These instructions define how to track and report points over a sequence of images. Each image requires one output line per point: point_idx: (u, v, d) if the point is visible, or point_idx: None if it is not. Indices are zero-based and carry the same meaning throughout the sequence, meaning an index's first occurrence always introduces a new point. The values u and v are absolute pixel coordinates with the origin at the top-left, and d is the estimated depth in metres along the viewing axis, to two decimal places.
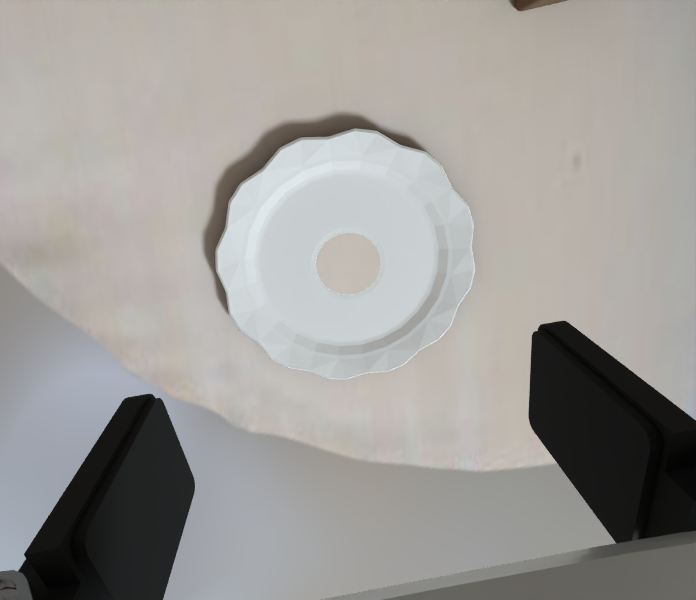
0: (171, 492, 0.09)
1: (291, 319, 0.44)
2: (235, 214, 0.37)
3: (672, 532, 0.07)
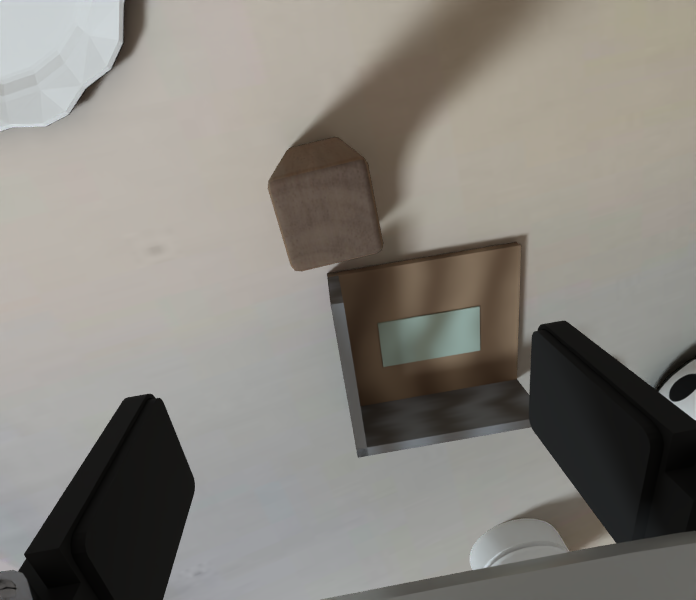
0: (171, 492, 0.09)
1: None
2: None
3: (672, 532, 0.07)
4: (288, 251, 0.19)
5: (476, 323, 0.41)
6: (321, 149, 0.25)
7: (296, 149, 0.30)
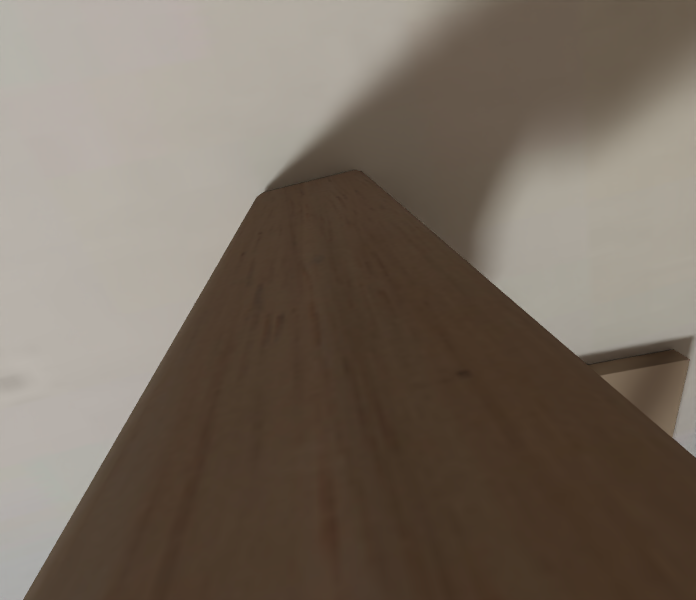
0: None
1: None
2: None
3: None
4: None
5: None
6: (340, 238, 0.08)
7: (272, 207, 0.13)
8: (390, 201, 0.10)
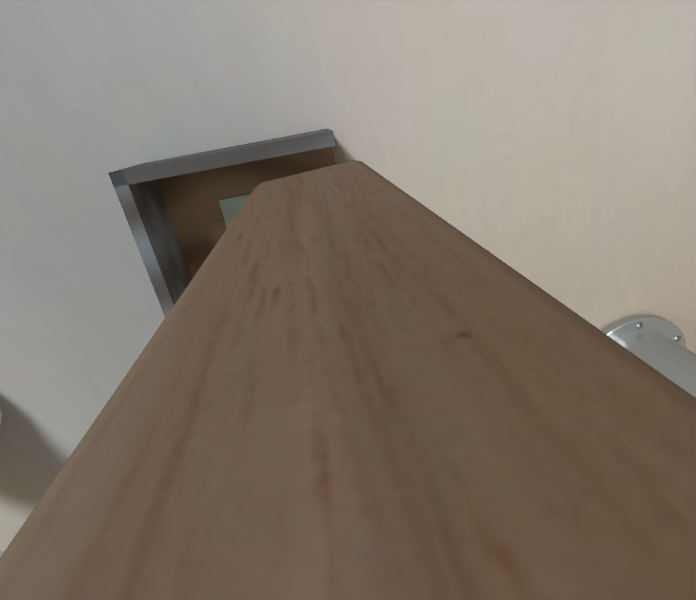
0: None
1: None
2: None
3: None
4: None
5: None
6: (339, 219, 0.08)
7: (270, 195, 0.13)
8: (389, 186, 0.10)
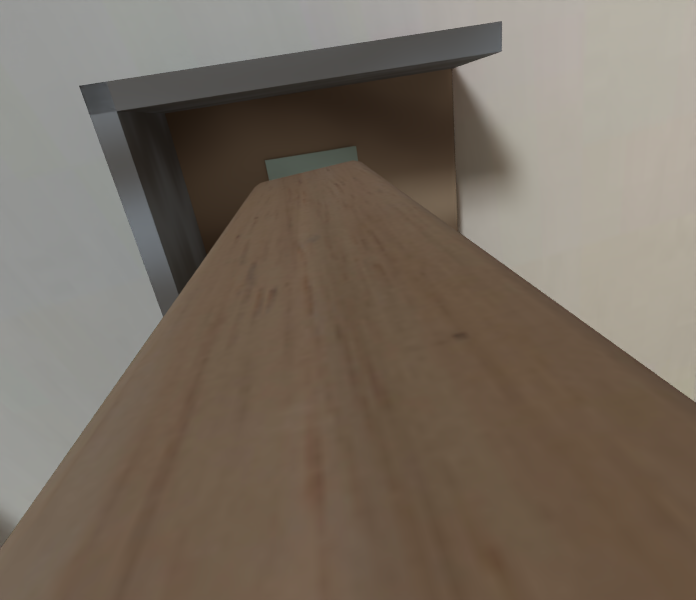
0: None
1: None
2: None
3: None
4: None
5: None
6: (337, 219, 0.08)
7: (269, 195, 0.13)
8: (388, 186, 0.10)
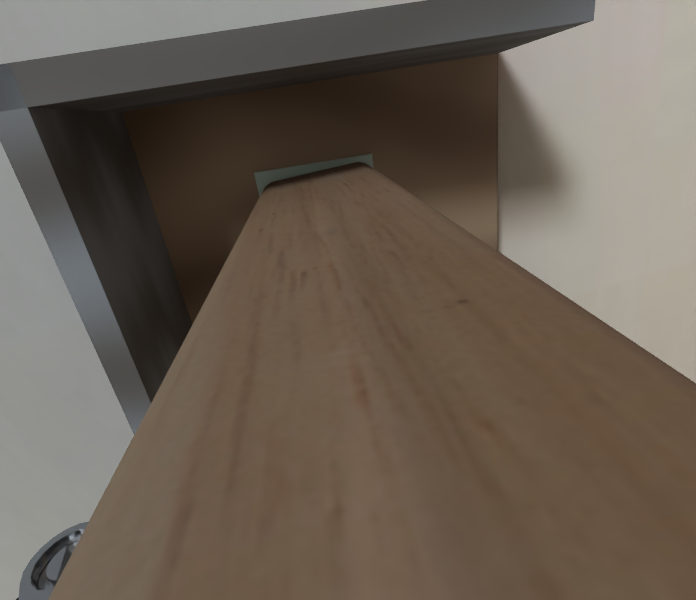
0: None
1: None
2: None
3: None
4: None
5: None
6: (351, 215, 0.09)
7: (282, 193, 0.14)
8: (394, 186, 0.11)
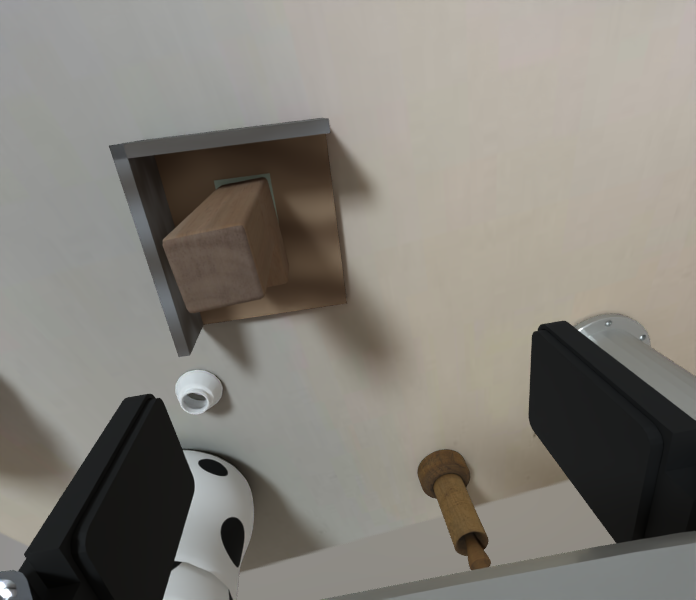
0: (171, 492, 0.09)
1: None
2: None
3: (672, 532, 0.07)
4: (182, 296, 0.23)
5: None
6: (233, 198, 0.29)
7: (221, 190, 0.34)
8: (256, 189, 0.31)
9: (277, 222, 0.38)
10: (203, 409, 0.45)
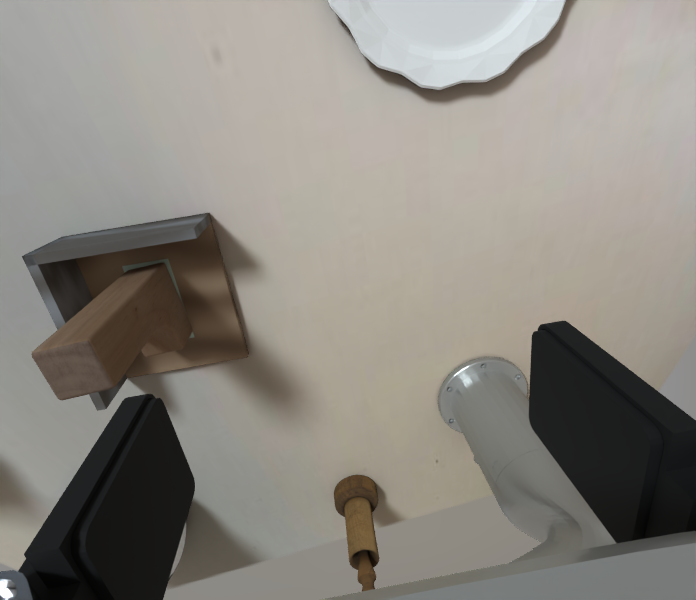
0: (171, 492, 0.09)
1: None
2: (556, 6, 0.40)
3: (672, 532, 0.07)
4: (52, 389, 0.31)
5: None
6: (114, 297, 0.37)
7: (119, 281, 0.42)
8: (139, 285, 0.39)
9: (176, 297, 0.46)
10: None
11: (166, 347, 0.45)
